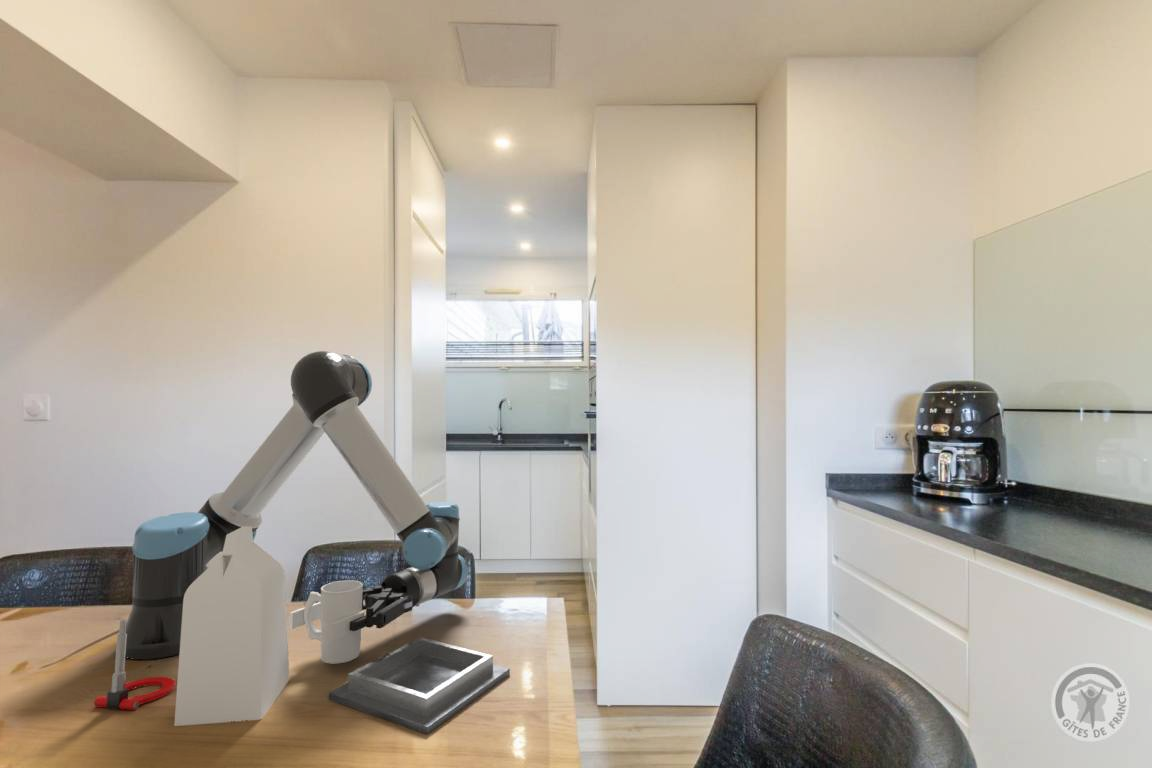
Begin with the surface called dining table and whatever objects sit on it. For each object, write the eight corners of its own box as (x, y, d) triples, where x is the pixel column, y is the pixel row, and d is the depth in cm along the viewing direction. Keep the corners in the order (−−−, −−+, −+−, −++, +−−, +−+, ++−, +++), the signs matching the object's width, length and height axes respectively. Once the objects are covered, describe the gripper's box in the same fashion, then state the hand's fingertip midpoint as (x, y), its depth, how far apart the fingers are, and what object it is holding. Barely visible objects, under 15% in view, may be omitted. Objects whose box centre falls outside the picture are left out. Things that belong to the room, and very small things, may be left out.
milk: (261, 719, 84) (264, 538, 85) (174, 726, 82) (178, 541, 83) (289, 680, 96) (291, 521, 97) (213, 685, 94) (216, 523, 95)
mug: (368, 648, 104) (369, 580, 104) (351, 665, 97) (352, 592, 98) (313, 646, 104) (314, 579, 105) (293, 663, 98) (294, 591, 98)
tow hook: (142, 682, 96) (87, 708, 87) (148, 601, 97) (94, 619, 88) (187, 686, 95) (136, 713, 85) (192, 605, 96) (142, 623, 86)
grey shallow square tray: (328, 699, 90) (328, 676, 90) (419, 650, 107) (420, 631, 107) (427, 734, 80) (427, 708, 80) (509, 674, 98) (509, 653, 98)
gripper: (450, 618, 112) (356, 663, 92) (368, 598, 122) (268, 635, 102) (450, 578, 112) (357, 615, 92) (369, 562, 122) (269, 592, 102)
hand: (310, 626), depth 97 cm, fingers closed on mug, 9 cm apart
